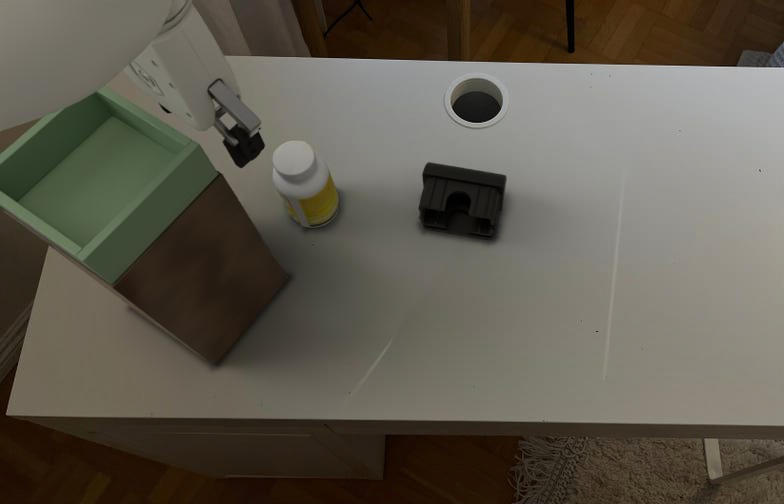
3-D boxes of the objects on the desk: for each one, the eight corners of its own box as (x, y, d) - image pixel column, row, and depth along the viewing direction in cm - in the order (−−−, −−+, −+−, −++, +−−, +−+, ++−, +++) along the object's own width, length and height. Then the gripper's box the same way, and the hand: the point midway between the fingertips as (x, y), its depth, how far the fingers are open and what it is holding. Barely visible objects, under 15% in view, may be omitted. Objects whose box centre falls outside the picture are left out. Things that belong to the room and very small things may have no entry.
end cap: (504, 193, 85) (508, 165, 79) (495, 241, 82) (498, 216, 76) (429, 181, 86) (427, 152, 79) (418, 228, 83) (414, 202, 76)
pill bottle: (350, 201, 84) (334, 150, 73) (319, 238, 82) (298, 192, 71) (310, 177, 85) (289, 124, 75) (278, 213, 83) (252, 164, 72)
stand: (214, 366, 74) (112, 287, 53) (131, 307, 77) (1, 210, 55) (288, 278, 79) (222, 173, 58) (207, 226, 82) (115, 106, 60)
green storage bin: (112, 284, 53) (82, 261, 49) (5, 209, 55) (-32, 181, 51) (219, 174, 57) (200, 144, 53) (115, 109, 60) (90, 76, 56)
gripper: (8, -42, 47) (122, 107, 62) (173, 79, 42) (250, 207, 58) (94, -97, 49) (182, 60, 65) (257, 12, 45) (309, 151, 60)
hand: (214, 129), depth 61 cm, fingers open, 9 cm apart
